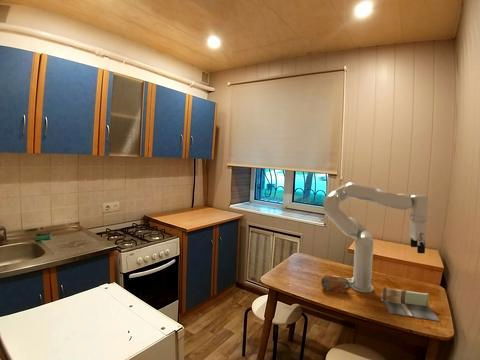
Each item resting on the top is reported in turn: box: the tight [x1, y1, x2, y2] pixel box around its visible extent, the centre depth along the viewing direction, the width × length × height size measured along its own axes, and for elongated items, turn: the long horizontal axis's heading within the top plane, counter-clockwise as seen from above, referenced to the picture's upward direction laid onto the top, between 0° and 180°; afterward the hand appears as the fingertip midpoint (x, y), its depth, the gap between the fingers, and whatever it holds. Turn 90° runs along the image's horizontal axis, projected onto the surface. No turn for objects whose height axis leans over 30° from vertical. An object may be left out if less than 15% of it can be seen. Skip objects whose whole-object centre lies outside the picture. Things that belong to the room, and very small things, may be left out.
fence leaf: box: [405, 290, 430, 306], centre depth 137 cm, size 10×1×6 cm, turn 74°
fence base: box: [380, 287, 440, 322], centre depth 136 cm, size 22×19×7 cm
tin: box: [320, 274, 351, 294], centre depth 151 cm, size 15×3×8 cm, turn 69°
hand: (417, 249), depth 142 cm, fingers open, 9 cm apart
